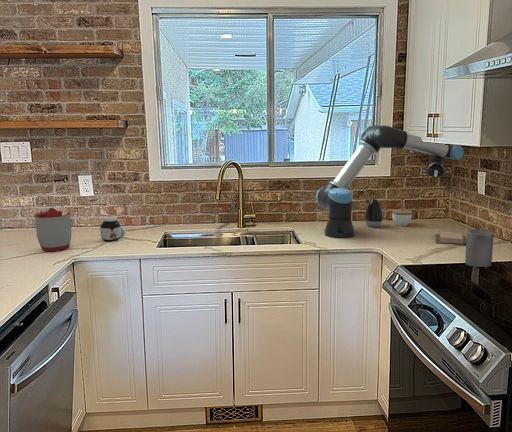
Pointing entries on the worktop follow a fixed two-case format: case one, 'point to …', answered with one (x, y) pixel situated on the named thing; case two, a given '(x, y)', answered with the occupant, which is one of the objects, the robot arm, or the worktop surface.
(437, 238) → the board
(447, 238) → the tile
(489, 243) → the pillar candle
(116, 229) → the spread jar
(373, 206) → the black rounded cone
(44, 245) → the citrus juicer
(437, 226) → the worktop surface
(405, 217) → the lidded jar
